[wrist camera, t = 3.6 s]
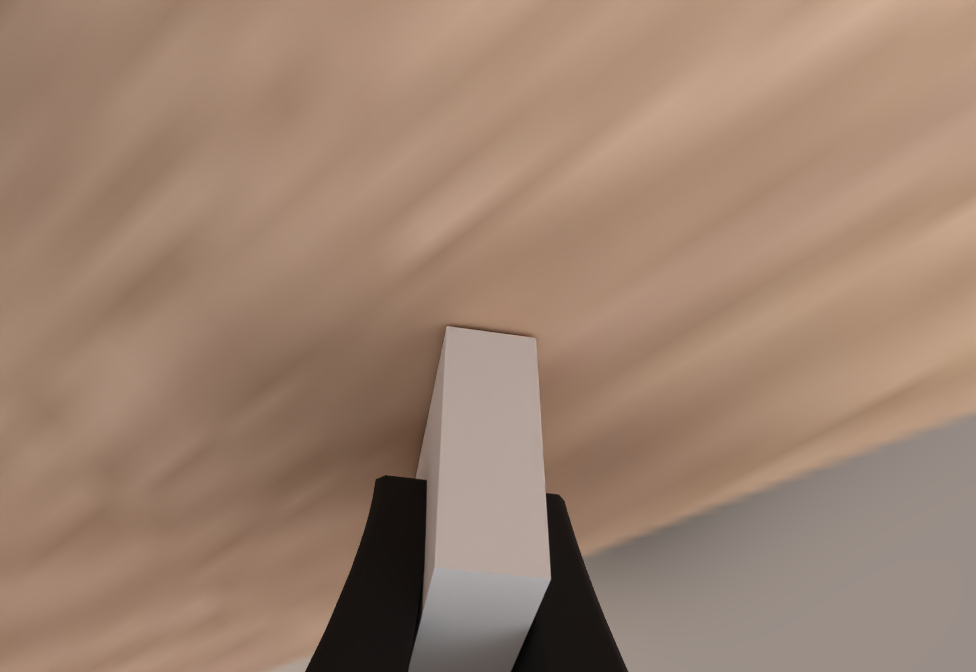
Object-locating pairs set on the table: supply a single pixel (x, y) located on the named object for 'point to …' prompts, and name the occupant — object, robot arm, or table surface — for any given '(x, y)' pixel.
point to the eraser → (482, 506)
